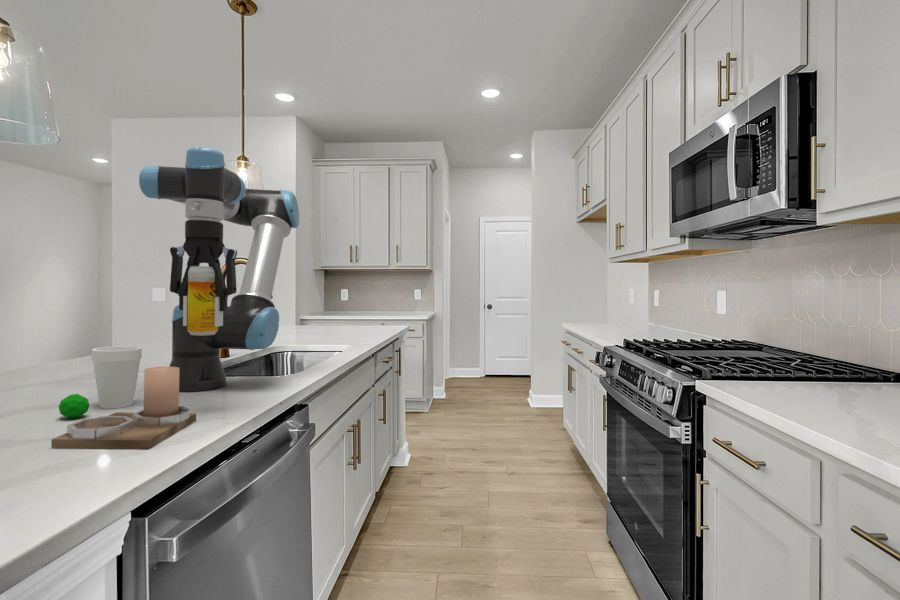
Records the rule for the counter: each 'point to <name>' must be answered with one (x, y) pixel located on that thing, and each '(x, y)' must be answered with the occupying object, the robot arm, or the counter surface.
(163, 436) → the pin board
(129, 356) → the foam cup
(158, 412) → the pin
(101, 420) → the socket collars
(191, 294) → the beer can
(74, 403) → the polyhedron
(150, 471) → the counter surface
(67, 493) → the counter surface
